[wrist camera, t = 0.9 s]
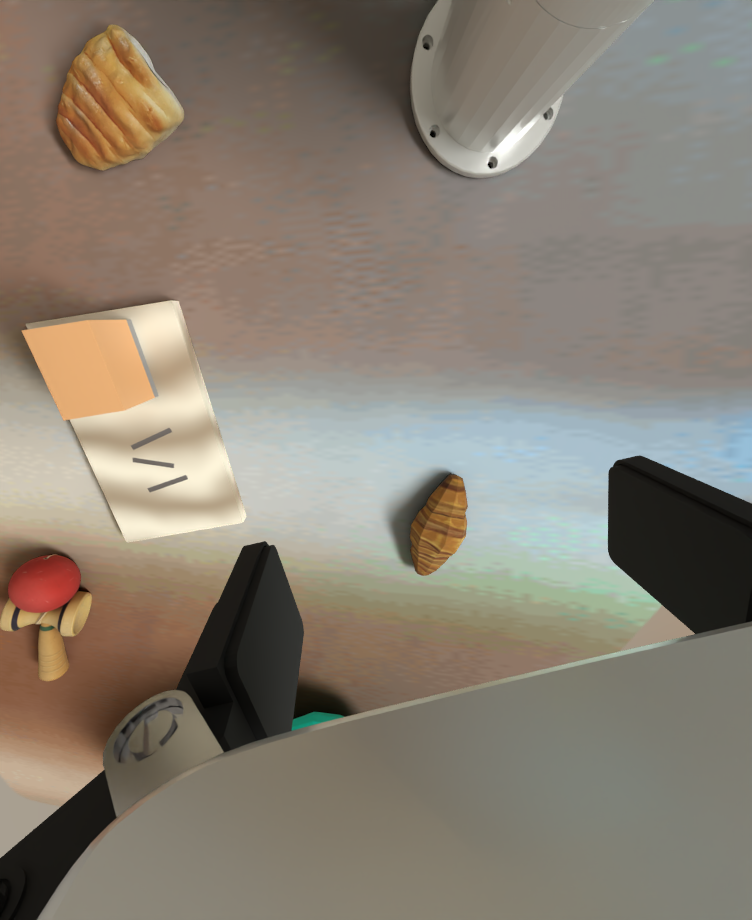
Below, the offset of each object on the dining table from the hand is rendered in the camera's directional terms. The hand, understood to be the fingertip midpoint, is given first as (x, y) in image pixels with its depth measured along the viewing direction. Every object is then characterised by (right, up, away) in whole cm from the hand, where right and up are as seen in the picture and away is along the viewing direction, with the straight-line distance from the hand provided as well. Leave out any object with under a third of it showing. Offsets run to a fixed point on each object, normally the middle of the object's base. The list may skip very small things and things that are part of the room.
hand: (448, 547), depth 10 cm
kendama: (-40, -15, +36) cm, 56 cm away
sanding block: (-26, +11, +25) cm, 38 cm away
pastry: (-22, +30, +20) cm, 42 cm away
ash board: (-25, +5, +29) cm, 38 cm away
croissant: (+5, -5, +35) cm, 36 cm away
